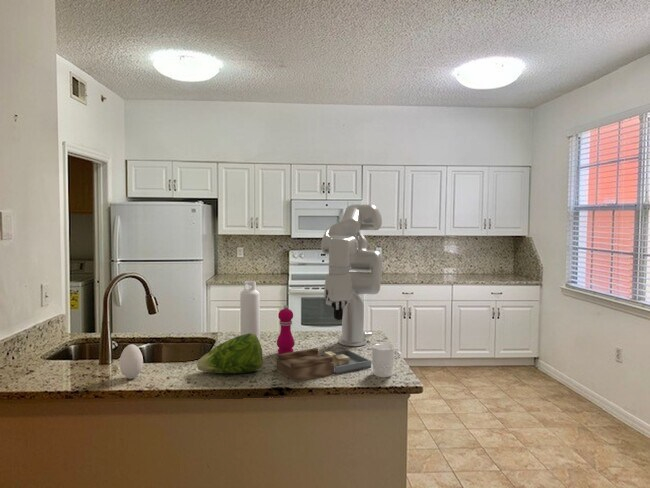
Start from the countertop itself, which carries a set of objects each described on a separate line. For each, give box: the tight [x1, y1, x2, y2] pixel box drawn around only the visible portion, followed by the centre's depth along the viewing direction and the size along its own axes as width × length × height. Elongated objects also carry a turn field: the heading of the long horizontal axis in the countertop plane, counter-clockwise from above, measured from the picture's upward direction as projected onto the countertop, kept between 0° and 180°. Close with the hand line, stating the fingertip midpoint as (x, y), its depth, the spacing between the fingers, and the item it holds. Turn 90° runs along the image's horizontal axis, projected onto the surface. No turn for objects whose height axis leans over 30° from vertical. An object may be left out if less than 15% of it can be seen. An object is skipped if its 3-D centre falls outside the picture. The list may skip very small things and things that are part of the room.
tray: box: [318, 349, 372, 375], centre depth 172 cm, size 15×16×2 cm
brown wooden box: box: [276, 347, 335, 383], centre depth 163 cm, size 16×14×6 cm
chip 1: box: [323, 350, 336, 367], centre depth 169 cm, size 4×4×2 cm
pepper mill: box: [276, 305, 295, 355], centre depth 183 cm, size 7×7×20 cm
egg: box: [119, 343, 144, 380], centre depth 154 cm, size 7×7×12 cm
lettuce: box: [196, 333, 264, 374], centre depth 161 cm, size 14×23×13 cm, turn 97°
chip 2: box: [336, 354, 349, 366], centre depth 171 cm, size 4×4×2 cm
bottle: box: [239, 280, 261, 342], centre depth 192 cm, size 8×8×28 cm
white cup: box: [371, 343, 395, 378], centre depth 161 cm, size 8×8×10 cm
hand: (338, 319), depth 170 cm, fingers closed
